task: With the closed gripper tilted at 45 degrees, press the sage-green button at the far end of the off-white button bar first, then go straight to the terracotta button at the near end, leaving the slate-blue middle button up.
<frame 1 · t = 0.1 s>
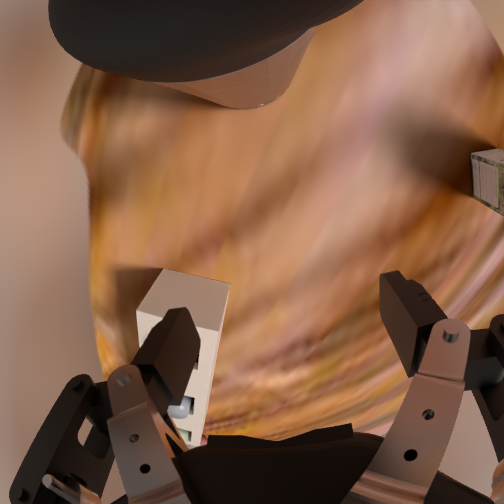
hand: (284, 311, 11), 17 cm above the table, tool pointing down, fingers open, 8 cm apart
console: (188, 359, 38), on the table
sage button: (175, 434, 35), point 8 cm above the table, slide at 0.0 cm
slate button: (174, 403, 30), point 8 cm above the table, slide at 0.0 cm
onion: (197, 436, 51), on the table
syrup box: (484, 172, 22), on the table
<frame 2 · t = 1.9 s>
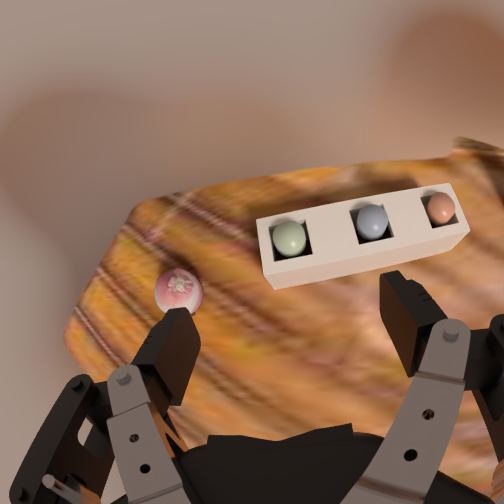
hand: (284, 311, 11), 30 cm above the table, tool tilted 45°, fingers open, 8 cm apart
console: (363, 246, 40), on the table
sage button: (289, 239, 35), point 8 cm above the table, slide at 0.0 cm
terracotta button: (440, 208, 31), point 8 cm above the table, slide at 0.0 cm
slate button: (371, 222, 33), point 8 cm above the table, slide at 0.0 cm
onion: (187, 297, 45), on the table
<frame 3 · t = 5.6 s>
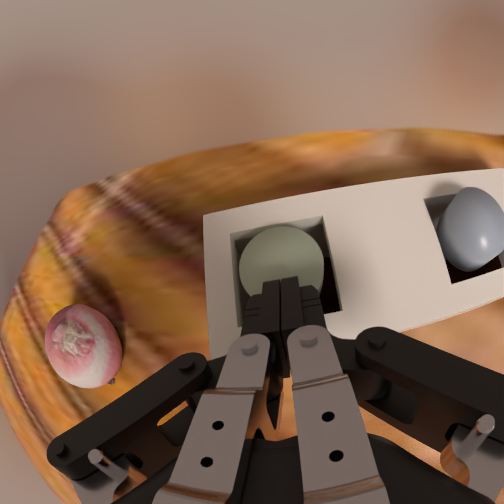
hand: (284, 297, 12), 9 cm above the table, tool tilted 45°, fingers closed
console: (426, 273, 19), on the table
sage button: (284, 273, 14), point 7 cm above the table, slide at 0.9 cm, touching gripper
slate button: (472, 229, 11), point 8 cm above the table, slide at 0.0 cm
onion: (105, 349, 23), on the table
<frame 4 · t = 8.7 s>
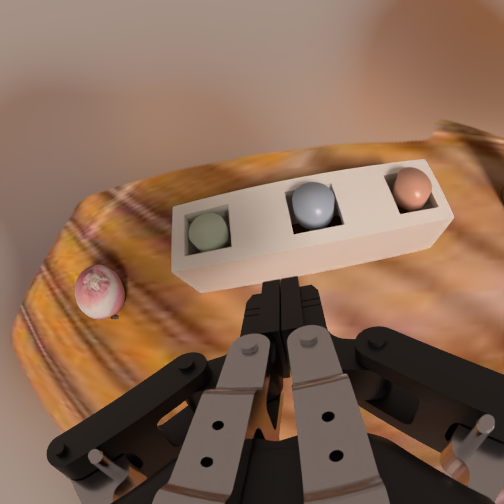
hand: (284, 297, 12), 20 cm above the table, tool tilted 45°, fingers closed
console: (314, 241, 34), on the table
sage button: (210, 234, 29), point 7 cm above the table, slide at 1.5 cm
terracotta button: (411, 189, 25), point 8 cm above the table, slide at 0.0 cm
slate button: (313, 205, 26), point 8 cm above the table, slide at 0.0 cm
onion: (113, 298, 37), on the table
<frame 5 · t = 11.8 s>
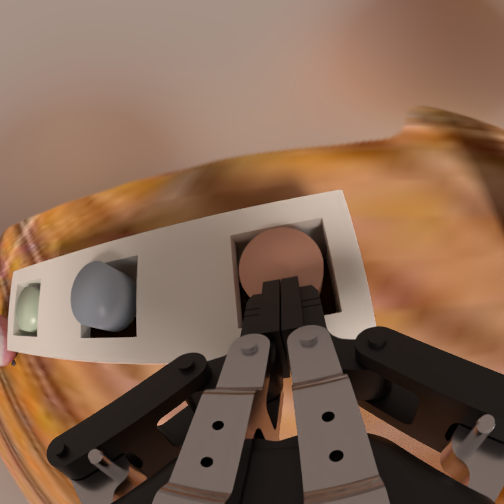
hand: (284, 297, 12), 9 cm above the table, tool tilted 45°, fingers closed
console: (167, 318, 23), on the table
sage button: (35, 311, 18), point 7 cm above the table, slide at 1.5 cm
terracotta button: (283, 273, 14), point 8 cm above the table, slide at 0.7 cm, touching gripper
slate button: (103, 297, 15), point 8 cm above the table, slide at 0.0 cm
onion: (13, 343, 27), on the table
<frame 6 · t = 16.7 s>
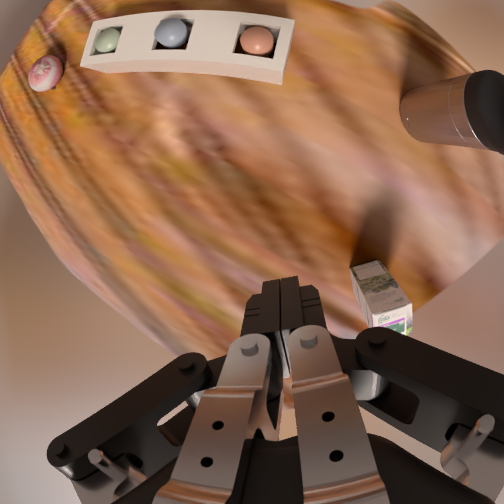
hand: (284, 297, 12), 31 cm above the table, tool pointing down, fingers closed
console: (190, 50, 33), on the table
sage button: (110, 41, 27), point 7 cm above the table, slide at 1.5 cm
terracotta button: (257, 42, 27), point 7 cm above the table, slide at 1.6 cm
slate button: (172, 33, 25), point 8 cm above the table, slide at 0.0 cm
onion: (55, 74, 34), on the table
syrup box: (366, 275, 45), on the table
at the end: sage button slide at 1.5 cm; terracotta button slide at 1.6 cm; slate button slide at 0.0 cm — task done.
